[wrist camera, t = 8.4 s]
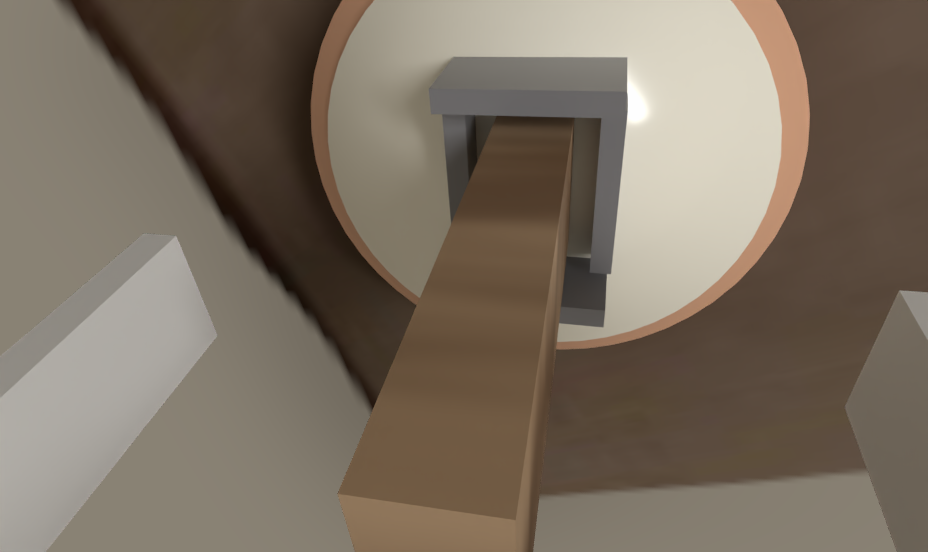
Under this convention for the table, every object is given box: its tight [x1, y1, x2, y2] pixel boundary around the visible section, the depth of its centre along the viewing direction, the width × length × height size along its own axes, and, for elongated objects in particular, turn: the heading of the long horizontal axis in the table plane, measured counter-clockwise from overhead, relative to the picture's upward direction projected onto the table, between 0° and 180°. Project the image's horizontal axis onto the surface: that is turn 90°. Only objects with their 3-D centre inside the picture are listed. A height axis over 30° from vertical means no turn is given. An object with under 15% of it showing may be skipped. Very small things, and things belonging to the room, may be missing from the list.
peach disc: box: [311, 0, 810, 349], centre depth 18 cm, size 14×14×6 cm
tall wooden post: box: [338, 116, 575, 552], centre depth 12 cm, size 4×2×12 cm, turn 3°
